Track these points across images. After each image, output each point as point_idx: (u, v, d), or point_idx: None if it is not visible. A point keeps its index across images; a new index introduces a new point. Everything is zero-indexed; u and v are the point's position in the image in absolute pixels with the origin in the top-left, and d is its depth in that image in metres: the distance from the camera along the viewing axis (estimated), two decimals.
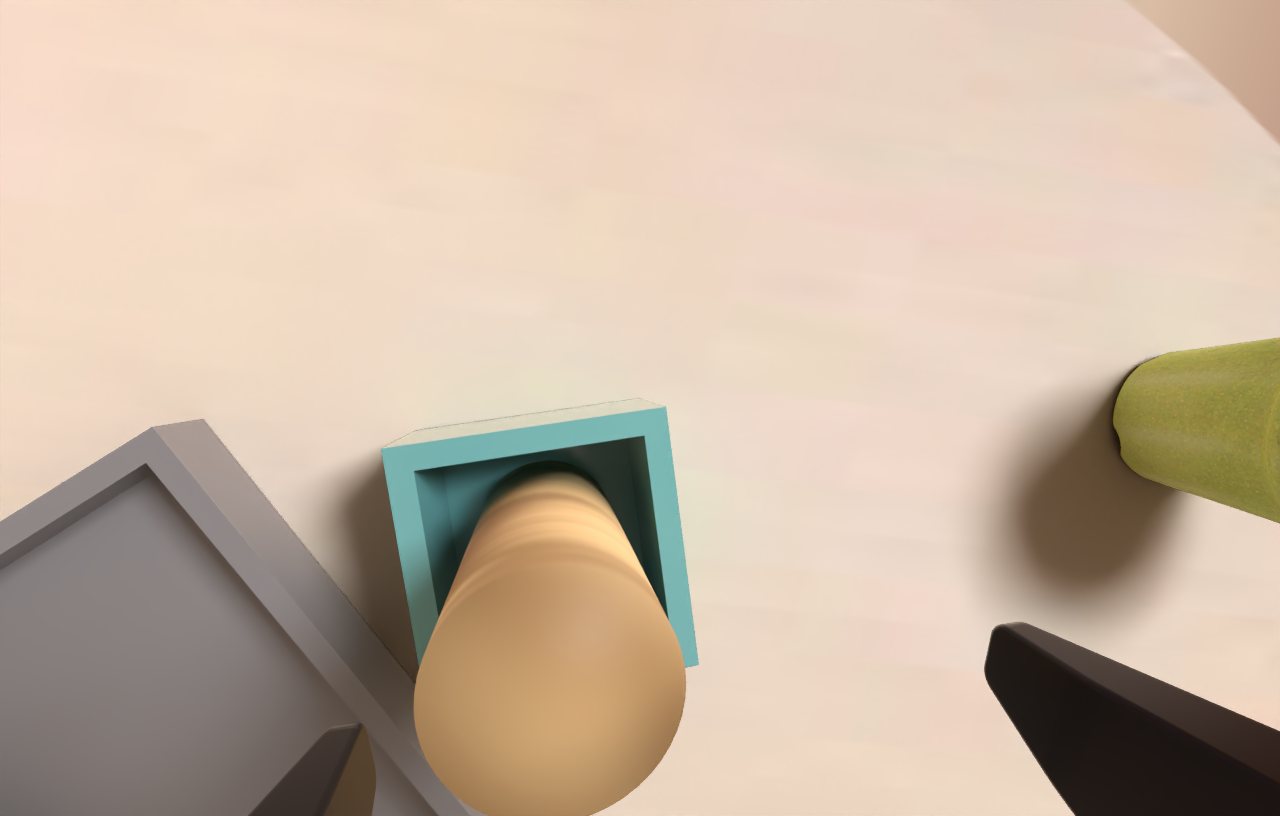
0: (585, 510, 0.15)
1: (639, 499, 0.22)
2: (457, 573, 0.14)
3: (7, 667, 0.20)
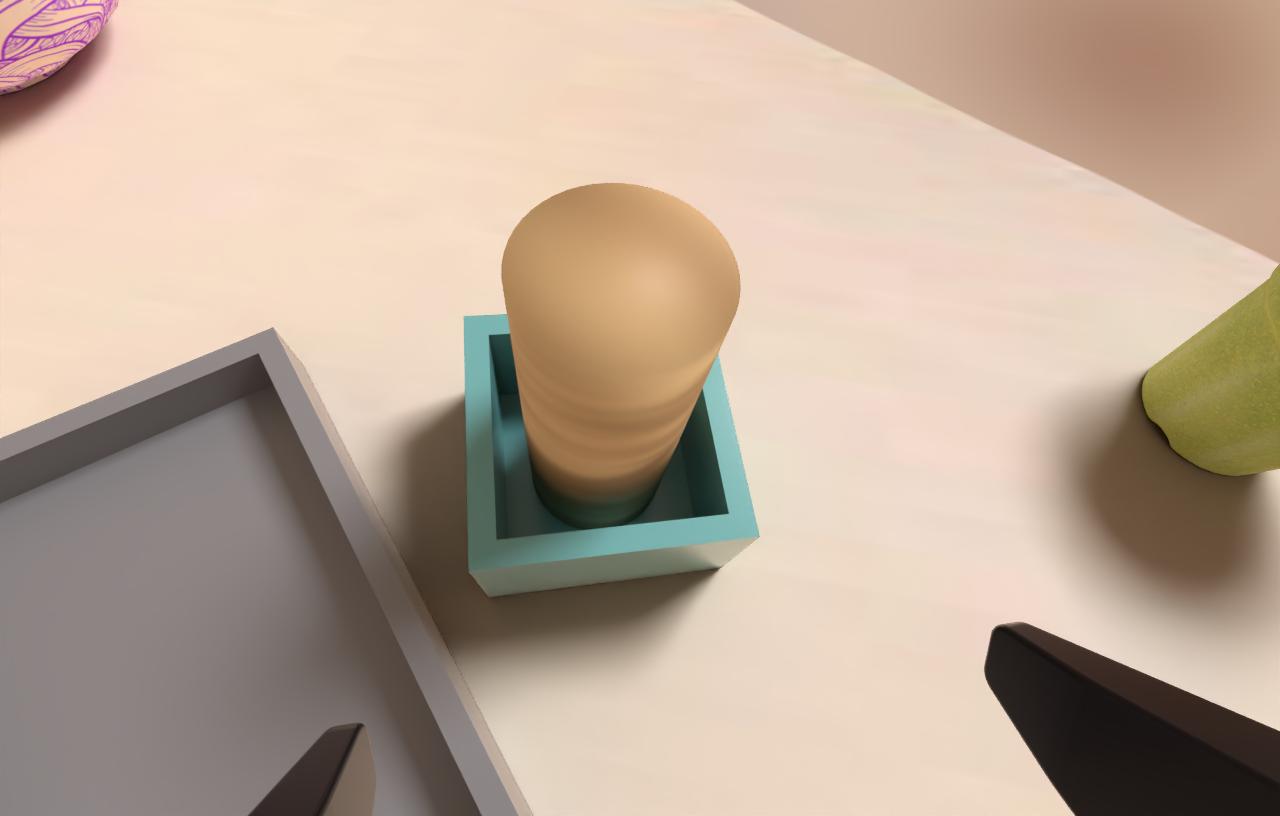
0: None
1: (686, 429, 0.23)
2: None
3: (42, 563, 0.19)
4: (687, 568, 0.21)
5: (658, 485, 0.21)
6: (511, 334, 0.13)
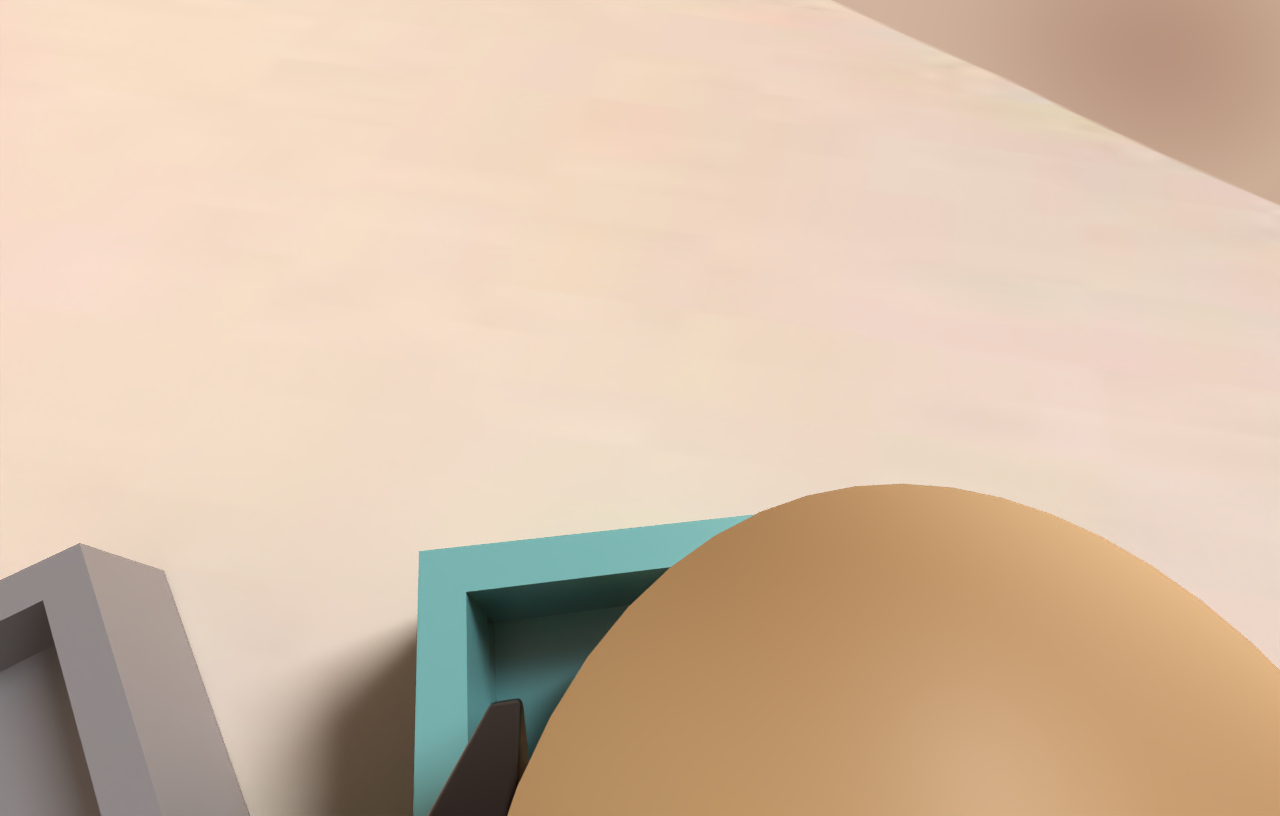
0: None
1: None
2: None
3: None
4: None
5: None
6: None
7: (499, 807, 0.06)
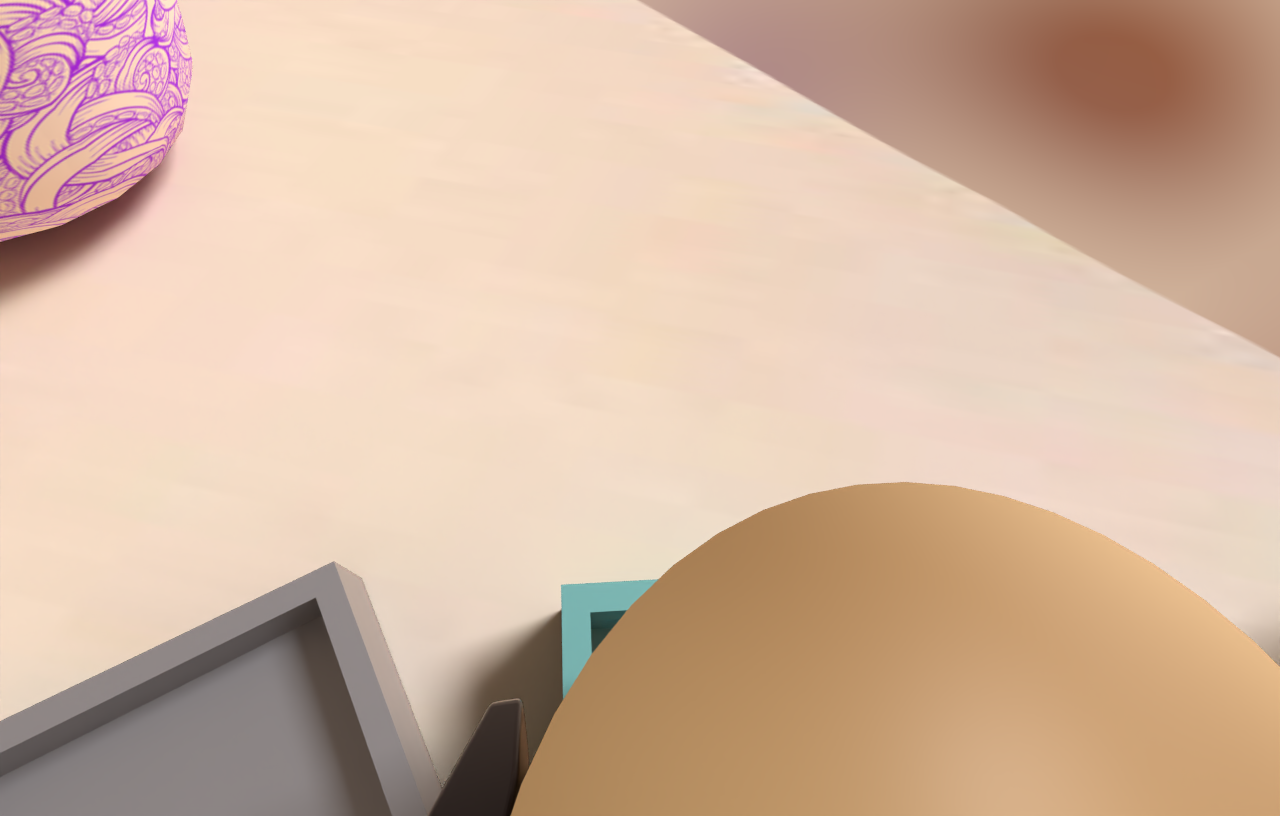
0: None
1: None
2: None
3: None
4: None
5: None
6: None
7: (499, 806, 0.06)
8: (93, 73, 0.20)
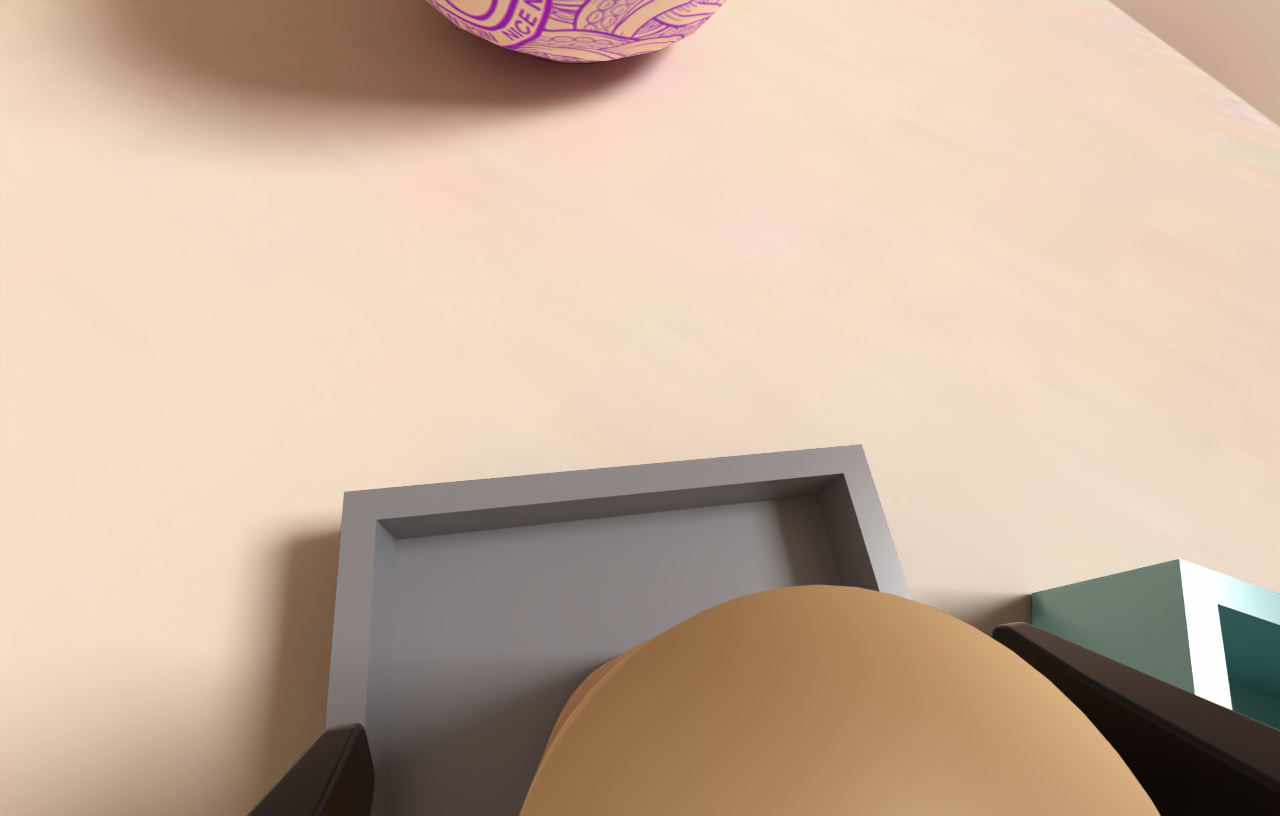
0: None
1: None
2: (553, 733, 0.07)
3: (541, 627, 0.16)
4: None
5: None
6: None
7: None
8: None
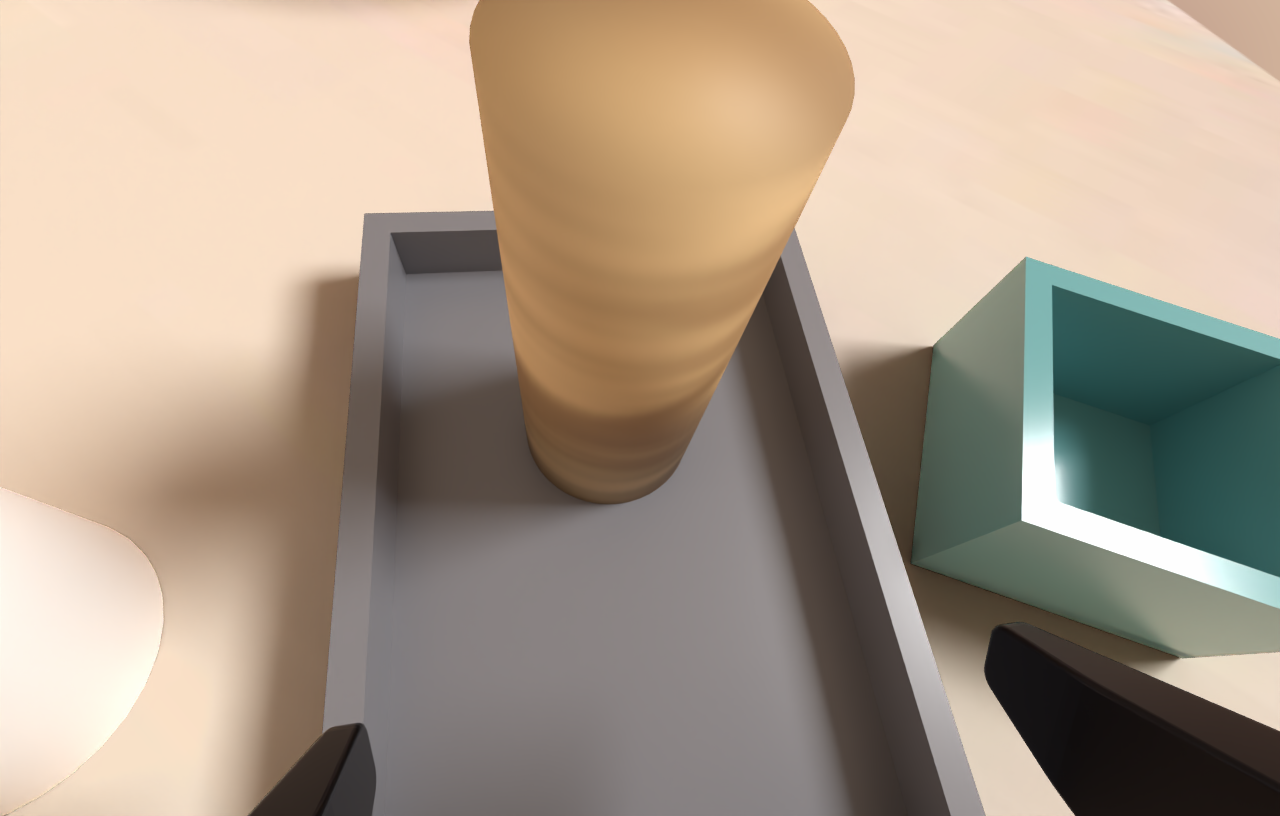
0: None
1: (1196, 481, 0.19)
2: None
3: None
4: (1159, 639, 0.17)
5: None
6: (488, 160, 0.08)
7: None
8: None
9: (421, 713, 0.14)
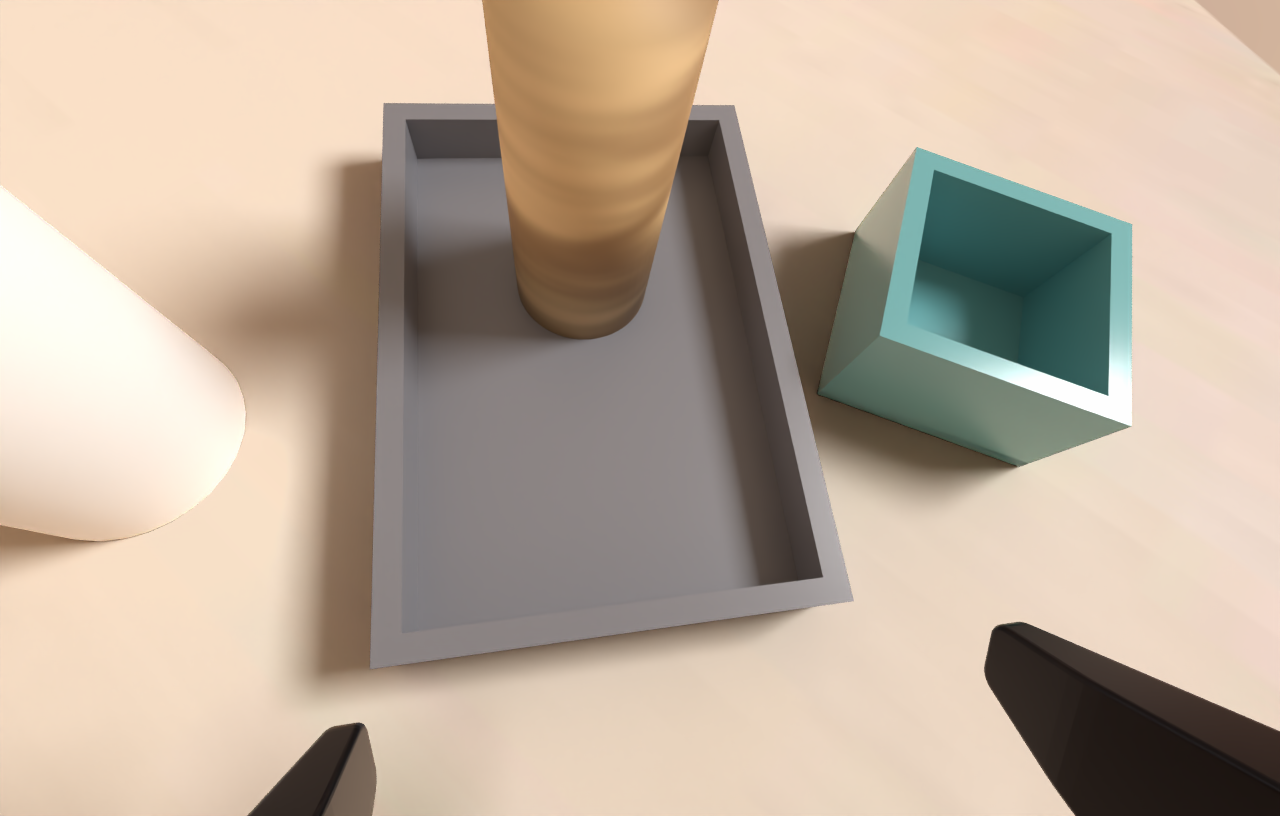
0: None
1: (1043, 334, 0.24)
2: None
3: None
4: (998, 448, 0.23)
5: (642, 288, 0.21)
6: (488, 35, 0.13)
7: None
8: None
9: (441, 474, 0.20)
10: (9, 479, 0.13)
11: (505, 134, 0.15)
